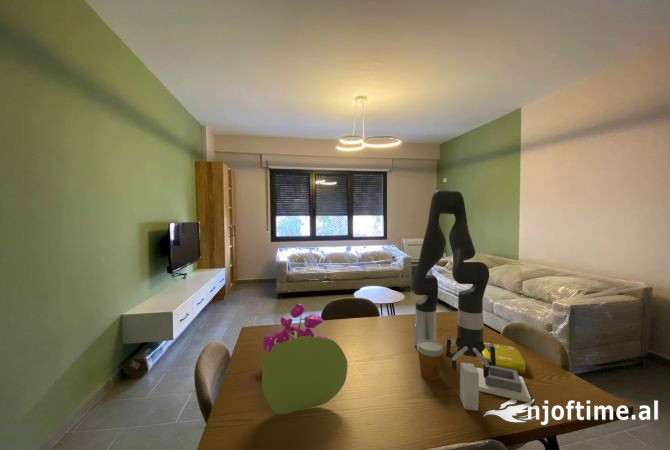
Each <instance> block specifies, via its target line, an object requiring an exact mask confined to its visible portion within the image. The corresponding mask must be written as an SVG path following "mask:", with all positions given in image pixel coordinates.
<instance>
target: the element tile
mask: <svg viewBox="0 0 670 450" xmlns="http://www.w3.org/2000/svg"><path fill="white" fill-rule="evenodd" d="M483 343H484V344H486V345H490V344H493V345H494V348H495V358H496V367H501V368H506V369H511V370H517V373H518V374H526V361H525V359H524V358H523V356H522V354H521V352H520V350H518V348H516V347H515V346H511V345H505V344H499V343H497V344H496V343H492V342H491V343H489V342H484V341H483ZM482 353H483V354H484V356H485V357H486V359H487V360H490V353H489V352H488V351H487V349H486V348H485V349H484V350H483V351H482ZM480 362H481V365H482V366H483V362H482V361H481V360H480Z"/></svg>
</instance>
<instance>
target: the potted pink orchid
mask: <svg viewBox="0 0 670 450" xmlns="http://www.w3.org/2000/svg"><path fill="white" fill-rule="evenodd" d="M304 311H305V306H303V304H302V303H295V304H294V306H293V307H292V308H291V311H290V312H289V314H290V316H291V318H290V317H288V316H287V317H286V316H282V317H281V318H280V320H279V322H280V325H281V326H282V328H283V329H282V330H277V331H275V332H274V334H273V335H272V334H271V335H270V334H267V335H265V336H264V337H263V341H262V342H263V344H262V347H263V350H264V351H265V352H266V353H268V354H266V355H267V356H266V357H265V359H264V362H263V366H262V371H261V386H262V393H263V395H264V397H265V400H266V401H267V403H268V405H269V407H270V408H271V409H272V411H273V412H274V413H275V414H277V415H286V414H290V413H295V412H299V411H303V410H307V409H311V408H315V407H316V408H317V407H319V406H322V405H324V404H327V403H328V402H329V401H331V400H332V399H333V398H335V397H336V396H337V395H338V394H339V392H341V390H342V389H343V387H344V385H345V382H346V379H347V376H348V375H347V374H348V367H349V364H348V359H347V357H346V355H345V353H344V351H343V349H342V348H341V347H340V345H339V344H338V343H337V342H336V341H335V340H332V339H331V338H328V336H326V335H323V334H318V335H317V336H315V334H314V332H313V331H312V330H311V329H315V328H316V327H317V326H318V325H320V324H322V323H324V319H323V318H322V316H321V315H320V314H317V313H312V314H309V315H306V316H304V318H302V315H303V314H304ZM298 317H299V323H298V326H297V325H292V323H293V319H292V318H294V319H297V318H298ZM302 321H304V327H306V328H304V329H302V328H301V325H302V324H301V323H302ZM291 335H292V336H291ZM294 336H295V337H294Z"/></svg>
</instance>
